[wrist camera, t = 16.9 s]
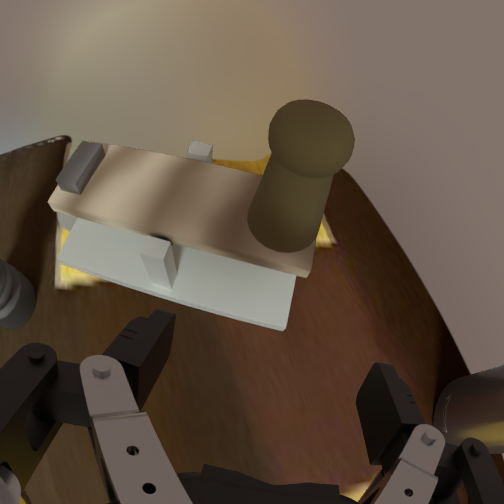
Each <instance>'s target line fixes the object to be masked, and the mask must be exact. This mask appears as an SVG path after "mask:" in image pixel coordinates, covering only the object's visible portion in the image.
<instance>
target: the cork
mask: <svg viewBox="0 0 504 504" xmlns="http://www.w3.org/2000/svg"><path fill="white" fill-rule="evenodd" d="M268 139H269V147H270V149H271V151H272V155H271V157H270V159H269V162H268V164H267V166H266V169H265V171H264V174H263V176H262V178H261V181H260V183H259V186H258V188H257V190H256V193H255V195H254V198H253V200H252V203H251V205H250V207H249V210H248V217H247V222H248V225H249V229H250V231H251V233H252V234H253V236H254V237H255V238H256V240H257V241H259V242H260V243H261V244H263V245H264V246H265V247H267V248H269V249H272V250H274V251H277V252H285V253H292V252H297V251H301V250H303V249H305V248H306V247H308V246H310V245H311V244H312V242H313V241H314V240H315V239H316V237H317V234H318V231H319V228H320V224H321V220H322V217H323V213H324V209H325V206H326V202H327V198H328V194H329V190H330V186H331V183H332V179H333V175H334V174H335V173H337V172H338V171H339V170H340V169H341V168H342V167H343V166H344V165H345V164H346V163H347V162H348V161H349V159H350V157H351V155H352V151H353V148H354V141H355V138H354V134H353V130H352V126H351V124H350V122H349V121H348V119H347V118H346V117H345V116H344V115H343V114H342V113H341V112H340V111H338V110H336V109H335V108H333V107H331V106H330V105H327V104H325V103H321V102H318V101H313V100H296V101H292V102H289V103H287V104H286V105H284V106H283V107H282V108H280V109H279V110H278V111H277V113H276V114H275V116H274V117H273V119H272V121H271V123H270V127H269V138H268Z"/></svg>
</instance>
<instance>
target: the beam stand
mask: <svg viewBox="0 0 504 504" xmlns="http://www.w3.org/2000/svg"><path fill="white" fill-rule="evenodd" d="M212 148H213V145H210V144H205V143H201V142H196V141H193V142H192V144H191V145H190V147H189V149H188V151H187V158H188V159H192V160H197V161H202V162H207V163H211V164H212ZM57 260H58V261H59V262H60V263H61V264H62V265H65V266H68V267H71V268H73V269H76V270H79V271H82V272H85V273H87V274H90V275H93V276H96V277H99V278H102V279H105V280H108V281H111V282H114V283H117V284H120V285H123V286H126V287H129V288H132V289H135V290H138V291H141V292H144V293H147V294H151V295H154V296H157V297H160V298H163V299H167V300H170V301H173V302H177V303H180V304H183V305H187V306H190V307H194V308H197V309H201V310H204V311H208V312H211V313H215V314H218V315H222V316H226V317H229V318H233V319H237V320H241V321H244V322H248V323H252V324H256V325H260V326H264V327H268V328H272V329H276V330H280V331H284V330H285V328H286V325H287V320H288V315H289V310H290V305H291V300H292V295H293V290H294V285H295V279H296V275H293V274H289V273H285V272H281V271H277V270H273V269H269V268H265V267H261V266H258V265H254V264H250V263H246V262H242V261H238V260H234V259H231V258H227V257H223V256H219V255H215V254H211V253H208V252H204V251H200V250H196V249H192V248H189V247H185V246H181V245H177V244H174V243H173V245H172V246H171V242H169V241H166V240H162V239H159V238H155V237H151V236H148V235H147V236H144V235H140V234H136V233H133V232H129V231H125V230H121V229H118V228H114V227H110V226H107V225H103V224H99V223H96V222H92V221H88V220H85V219H81V218H77V220H76V222H75V224H74V226H73V228H72V230H71V231H70V233H69V235H68V237H67V239H66V241H65V243H64V245H63V247H62V249H61V251H60V253H59V255H58V258H57Z"/></svg>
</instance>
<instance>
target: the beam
mask: <svg viewBox="0 0 504 504" xmlns="http://www.w3.org/2000/svg"><path fill="white" fill-rule="evenodd" d="M261 178H262V175H258V174H254V173H250V172H246V171H242V170H238V169H233V168H229V167H225V166H220V165H216V164H211V163H207V162H202V161H197V160H192V159H188V158H183V157H178V156H173V155H167V154H162V153H157V152H152V151H146V150H140V149H135V148H129V147H123V146H117V145H111V144H104V143H98V142H91V141H88V142H87V141H82V142H81V144H80V145H79V146H78V148H77V149H76V150H75V152H74V153H73V155H72V156H71V158H70V159H69V160H68V162H67V163H66V165H65V166H64V168H63V169H62V171H61V172H60V174H59V175H58V177H57V178H56V181H57V183H58V186H57V187H56V189H55V190H54V192H53V194H52V195H51V197H50V199H49V200H48V203H49V205H50V206H51V208H52V209H53V211H56V212H59V213H63V214H67V215H70V216H74V217H78V218H81V219H85V220H88V221H92V222H96V223H99V224H103V225H107V226H110V227H114V228H118V229H121V230H125V231H129V232H133V233H136V234H140V235H144V236H147V235H148V236H151V237H155V238H159V239H162V240H166V241H169V242H171V246H172V245H173V243H174V244H177V245H181V246H185V247H189V248H192V249H196V250H200V251H204V252H208V253H211V254H215V255H219V256H223V257H227V258H231V259H234V260H238V261H242V262H246V263H250V264H254V265H258V266H261V267H265V268H269V269H273V270H277V271H281V272H285V273H289V274H293V275H297V276H300V277H304V278H307V276H308V274H309V273H310V271H311V268H312V262H313V256H314V249H315V243H316V239H315V240H314V241H313V242H312V244H311V245H310V246H308V247H306V248H305V249H303V250H301V251H297V252H292V253H285V252H277V251H274V250H272V249H269V248H267V247H265V246H264V245H263V244H261V243H260V242H259V241H257V240H256V238H255V237H254V236H253V234H252V233H251V231H250V229H249V225H248V222H247V217H248V210H249V207H250V205H251V203H252V200H253V198H254V195H255V193H256V190H257V188H258V186H259V183H260V181H261Z"/></svg>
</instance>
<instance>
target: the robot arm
mask: <svg viewBox="0 0 504 504" xmlns="http://www.w3.org/2000/svg"><path fill="white" fill-rule="evenodd" d="M175 319H176V315H175V314H174V313H171V312H168V311H165V310H161V309H158V308H157V309H156V310H155V311H154V312H153V314H152V315H151V316H150V317H149V319H148V318H145V317H142V316H140V317H138V318H136V319H134V320H131V321H130V322H129V323H128V324H127V326H126V327H125V328H124V330H122V331H121V333H120V334H119V335H118V336H117V337H116V339H115V340H114V341H113V342H112V343H111V344H110V346H109V347H108V348H107V349H106V350H105V352H104V353H103V354H102V355H94V356H90V357H88V358H86V359H85V360H83V361H82V363H81V364H75V363H69V362H64V361H59V360H57V355H56V352H55V351H54V350H53V349H52V348H51V347H49V346H48V345H45V344H41V343H32V344H28V345H25V346H23V347H22V348H21V349H20V350H19V351H18V352H17V353H16V354H15V355H14V356H13V357H12V358H11V359H10V360H9V361H8V362H7V363H6V364H5V365H4V366H3V367H2V368H1V369H0V504H31V501H30V498H29V497H28V495H27V493H26V492H25V490H24V488H25V487H26V485H27V483H28V481H29V480H30V478H31V476H32V474H33V472H34V471H35V469H36V467H37V466H38V464H39V462H40V460H41V459H42V457H43V455H44V454H45V452H46V450H47V449H48V447H49V445H50V444H51V442H52V440H53V439H54V437H55V435H56V434H57V432H58V430H59V429H60V427H61V426H62V424H63V423H68V424H73V425H79V426H84V427H87V429H88V433H89V437H90V441H91V444H92V448H93V451H94V455H95V458H96V461H97V464H98V468H99V471H100V475H101V478H102V482H103V485H104V488H105V491H106V494H107V497H108V499H109V502H110V503H108V504H460V501H459V498H458V495H457V490H458V489H459V488H460V487H461V486H462V485H465V488H466V491H467V494H468V504H504V485H503V482H502V480H501V478H500V475H499V473H498V471H497V468H496V466H495V464H494V462H493V459H492V457H491V455H490V454H494V453H504V365H502V366H499V367H496V368H493V369H489V370H486V371H482V372H479V373H475V374H471V375H468V376H464V377H460V378H457V379H455V380H453V381H451V382H450V383H449V384H448V385H447V386H446V387H445V388H444V390H443V391H442V393H441V394H440V396H439V398H438V401H437V403H436V406H435V411H434V420H433V425H434V427H433V426H430V425H427V424H425V422H424V420H423V417H422V415H421V413H420V411H419V408H418V406H417V404H415V399H414V397H412V393H411V391H410V389H409V387H408V385H407V384H406V383H405V382H404V381H403V380H402V379H401V378H399V377H398V374H397V372H396V370H395V368H394V366H393V365H388V364H382V363H374V364H373V366H372V367H371V369H370V371H369V373H368V375H367V377H366V379H365V380H364V382H363V384H362V386H361V388H360V390H359V392H358V394H357V399H356V406H357V410H358V414H359V418H360V422H361V427H362V431H363V435H364V439H365V444H366V448H367V453H368V457H369V462H370V465H382V469H381V471H380V472H379V473H378V474H377V476H376V477H375V479H374V480H373V482H372V483H371V484H370V486H369V487H368V489H367V490H366V492H365V493H364V494H363V496H362V497H361V498H360V500H359V501H358V502H356V501H355V500H353V499H351V498H348V497H346V496H343V495H340V494H339V485H330V484H317V483H299V484H288V485H271V484H268V483H265V482H263V481H260V480H257V479H255V478H252V477H250V476H247V475H245V474H242V473H240V472H237V471H232V470H227V469H223V468H219V467H214V466H210V465H206V464H204V466H203V469H202V472H201V473H198V472H191V473H180V474H176V473H175V471H174V469H173V467H172V465H171V463H170V461H169V459H168V457H167V455H166V453H165V451H164V449H163V447H162V445H161V443H160V441H159V439H158V437H157V435H156V433H155V430H154V428H153V426H152V424H151V422H150V419H149V417H148V415H147V414H146V412H145V411H141V409H142V407H143V405H144V403H145V401H146V400H147V398H148V396H149V394H150V392H151V390H152V388H153V386H154V384H155V383H156V381H157V379H158V377H159V375H160V373H161V371H162V369H163V367H164V366H165V364H166V362H167V360H168V357H169V354H170V350H171V345H172V339H173V332H174V325H175Z"/></svg>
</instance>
